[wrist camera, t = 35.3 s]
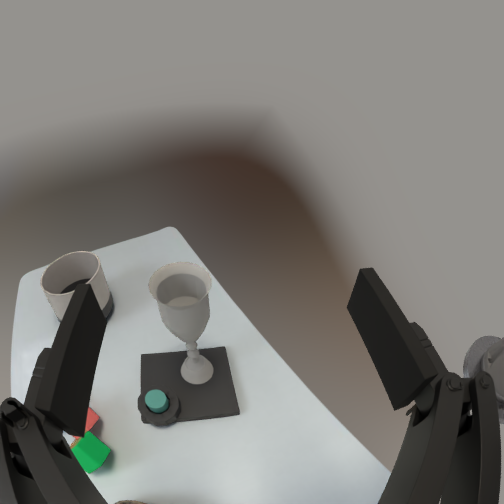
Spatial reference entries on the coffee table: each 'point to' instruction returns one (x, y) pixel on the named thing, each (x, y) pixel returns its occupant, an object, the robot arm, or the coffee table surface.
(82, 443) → the building blocks
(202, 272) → the chalice
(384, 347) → the robot arm
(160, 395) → the button
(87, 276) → the planter
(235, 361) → the coffee table surface
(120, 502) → the fossilized seashell
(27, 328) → the coffee table surface
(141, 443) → the coffee table surface
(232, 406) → the scale
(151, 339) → the coffee table surface
